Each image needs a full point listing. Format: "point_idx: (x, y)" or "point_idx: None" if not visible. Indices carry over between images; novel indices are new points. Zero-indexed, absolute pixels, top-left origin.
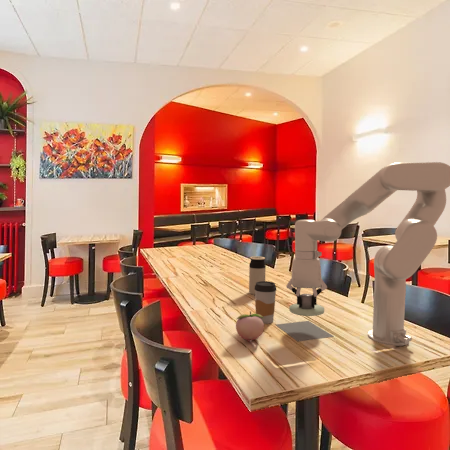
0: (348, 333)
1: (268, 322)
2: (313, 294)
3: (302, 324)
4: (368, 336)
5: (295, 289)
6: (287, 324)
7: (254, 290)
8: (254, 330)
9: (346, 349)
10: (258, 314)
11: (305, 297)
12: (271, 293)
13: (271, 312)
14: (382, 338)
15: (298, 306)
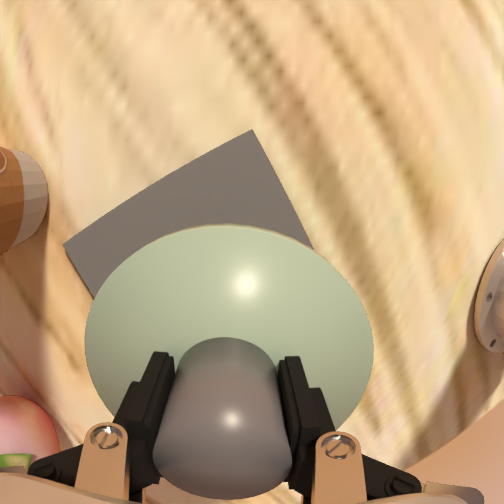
0: (428, 267)
1: (29, 237)
2: (301, 492)
3: (209, 208)
4: (477, 303)
5: (74, 485)
6: (120, 227)
7: None
8: None
9: (364, 418)
10: (11, 465)
11: (211, 492)
12: None
13: (7, 243)
14: (498, 336)
15: (153, 350)
